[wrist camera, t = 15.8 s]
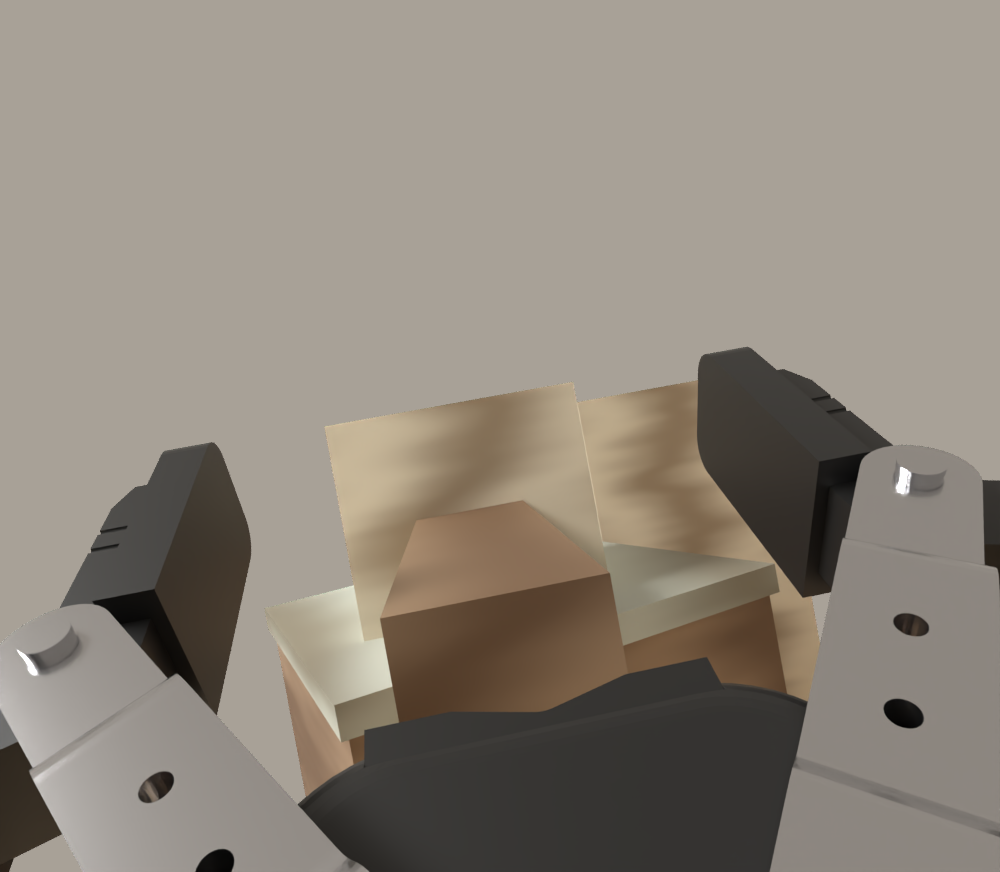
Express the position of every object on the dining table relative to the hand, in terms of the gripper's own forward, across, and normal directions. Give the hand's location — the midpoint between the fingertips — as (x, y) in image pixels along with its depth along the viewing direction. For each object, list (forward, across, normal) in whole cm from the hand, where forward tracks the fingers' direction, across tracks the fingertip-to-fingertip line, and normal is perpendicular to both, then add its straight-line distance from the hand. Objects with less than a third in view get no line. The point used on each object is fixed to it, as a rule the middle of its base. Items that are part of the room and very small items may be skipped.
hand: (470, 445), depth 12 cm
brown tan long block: (+3, 0, +7) cm, 8 cm away
